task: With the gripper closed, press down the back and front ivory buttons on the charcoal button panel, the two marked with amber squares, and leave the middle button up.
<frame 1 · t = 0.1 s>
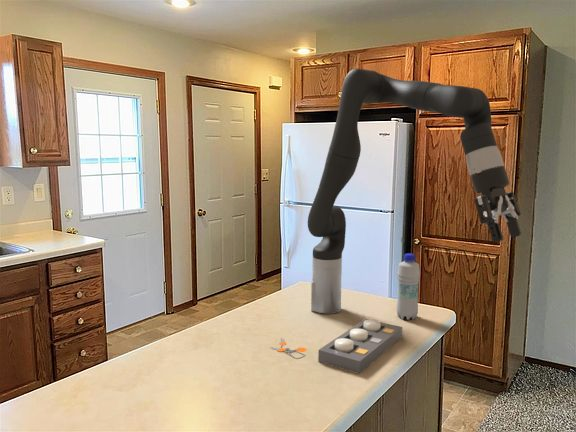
hand: (507, 238, 107), 31 cm above the countertop, tool tilted 20°, fingers open, 8 cm apart
button front: (344, 345, 118), point 3 cm above the countertop, slide at 0.0 cm
panel: (362, 348, 124), on the countertop
button middle: (358, 335, 124), point 3 cm above the countertop, slide at 0.0 cm
bottle: (406, 317, 147), on the countertop
button back: (371, 326, 131), point 3 cm above the countertop, slide at 0.0 cm
key chain: (288, 350, 124), on the countertop
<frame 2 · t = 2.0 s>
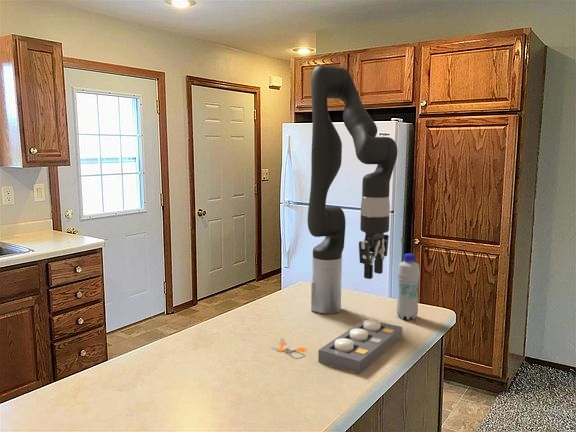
hand: (373, 275, 129), 18 cm above the countertop, tool pointing down, fingers open, 5 cm apart
nothing on the countertop moved.
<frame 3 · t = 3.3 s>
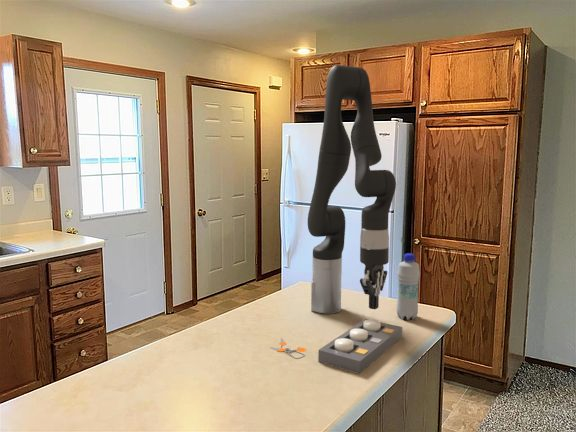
hand: (373, 308, 130), 8 cm above the countertop, tool pointing down, fingers closed
nothing on the countertop moved.
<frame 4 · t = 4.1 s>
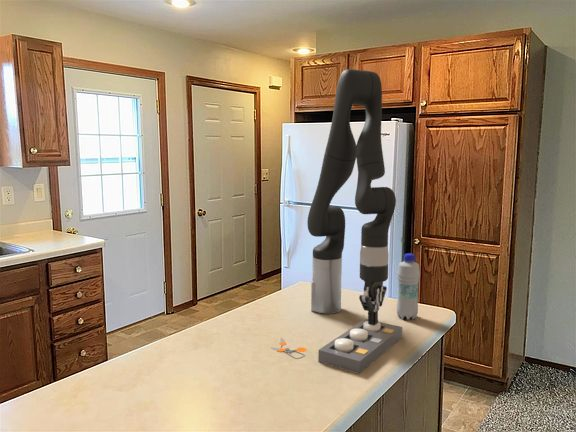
hand: (372, 324, 130), 4 cm above the countertop, tool pointing down, fingers closed
button back: (371, 327, 131), point 3 cm above the countertop, slide at 0.3 cm, touching gripper
everything else where it was.
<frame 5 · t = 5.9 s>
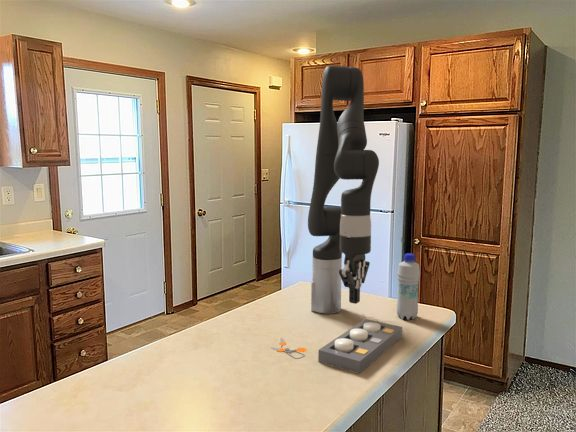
hand: (354, 302, 118), 14 cm above the countertop, tool pointing down, fingers closed
button back: (371, 328, 131), point 3 cm above the countertop, slide at 0.7 cm
everything else where it was.
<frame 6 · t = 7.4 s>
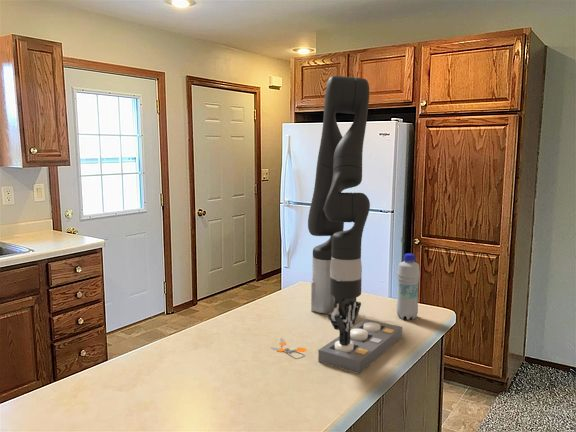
hand: (344, 344, 117), 4 cm above the countertop, tool pointing down, fingers closed
button front: (344, 347, 118), point 3 cm above the countertop, slide at 0.5 cm, touching gripper
everything else where it was.
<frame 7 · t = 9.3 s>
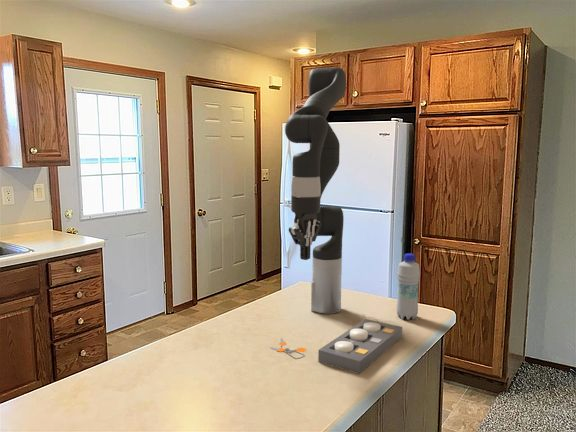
hand: (305, 259, 126), 22 cm above the countertop, tool pointing down, fingers closed
button front: (344, 348, 118), point 3 cm above the countertop, slide at 0.7 cm
everything else where it was.
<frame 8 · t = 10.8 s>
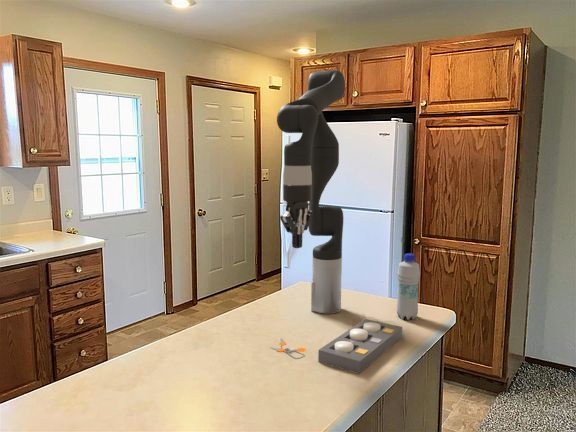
hand: (297, 247, 128), 25 cm above the countertop, tool pointing down, fingers closed
nothing on the countertop moved.
at the end: button back slide at 0.7 cm; button front slide at 0.7 cm; button middle slide at 0.0 cm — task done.
